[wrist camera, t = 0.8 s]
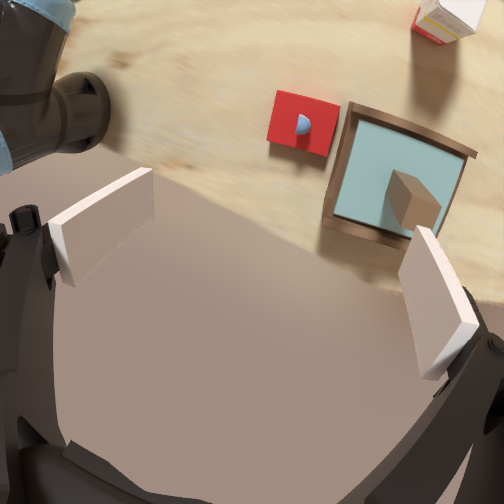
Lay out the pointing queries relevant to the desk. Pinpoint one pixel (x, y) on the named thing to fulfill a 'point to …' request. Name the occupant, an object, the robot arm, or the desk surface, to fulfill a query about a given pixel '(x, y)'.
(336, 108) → the red knobbed tile
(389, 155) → the lid
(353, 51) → the desk surface
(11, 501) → the robot arm
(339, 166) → the walnut box
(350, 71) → the desk surface
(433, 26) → the ink box
